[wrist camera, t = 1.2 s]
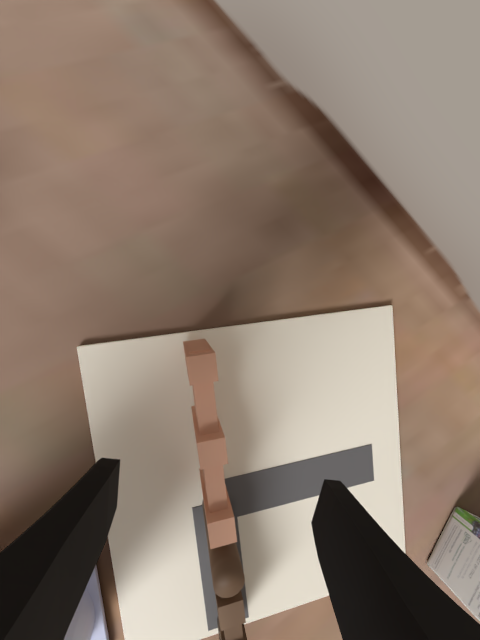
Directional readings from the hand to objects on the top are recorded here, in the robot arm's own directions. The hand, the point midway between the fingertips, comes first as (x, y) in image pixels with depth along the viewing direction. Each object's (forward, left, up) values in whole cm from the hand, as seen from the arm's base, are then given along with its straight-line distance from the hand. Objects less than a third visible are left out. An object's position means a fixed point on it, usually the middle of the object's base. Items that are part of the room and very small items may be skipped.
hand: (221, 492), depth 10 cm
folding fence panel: (0, -1, -9) cm, 9 cm away
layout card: (+4, -6, -10) cm, 13 cm away
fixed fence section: (0, -12, -10) cm, 15 cm away
